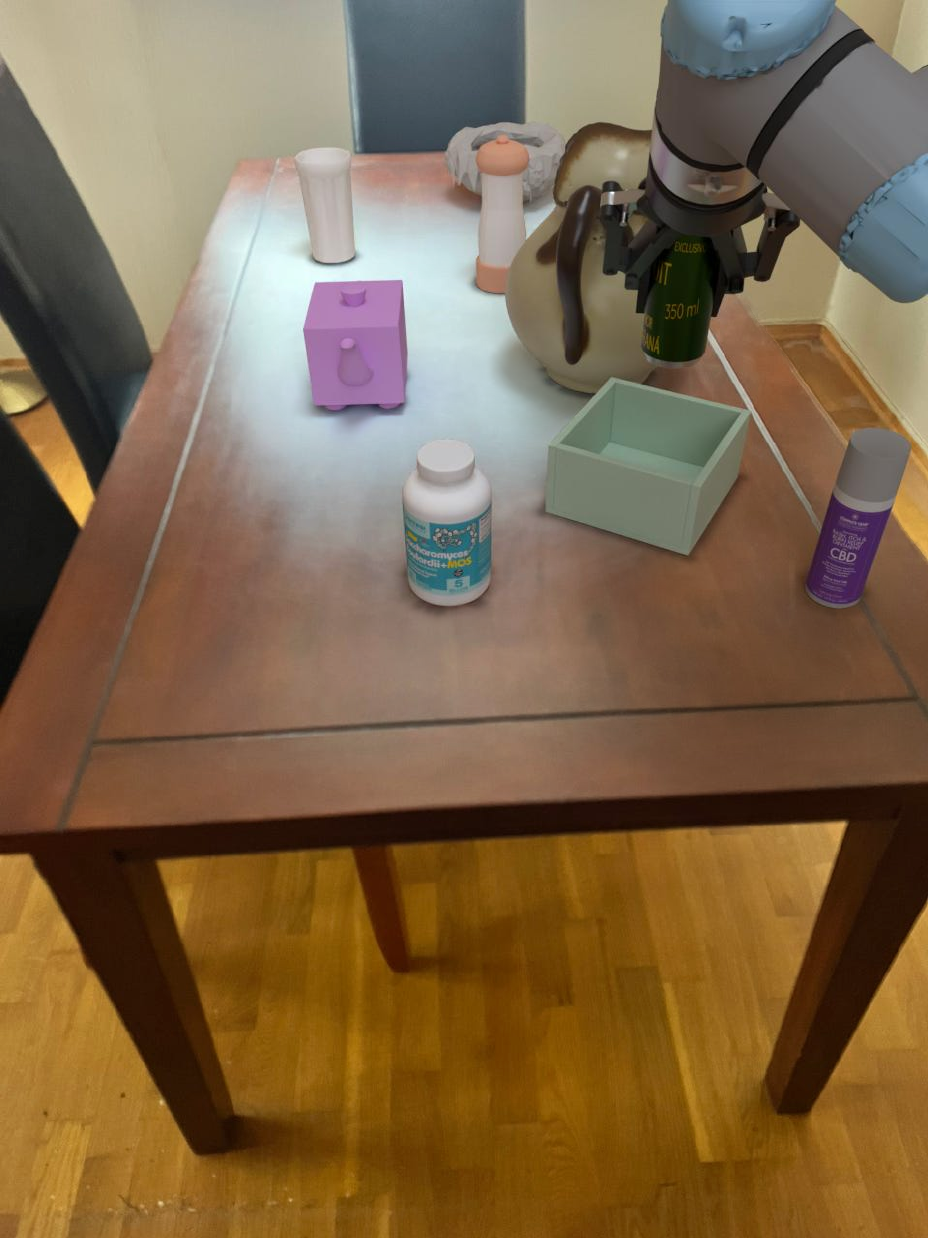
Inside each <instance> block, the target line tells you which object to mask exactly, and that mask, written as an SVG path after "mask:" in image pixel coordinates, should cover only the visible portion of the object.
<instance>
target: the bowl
mask: <svg viewBox="0 0 928 1238" xmlns="http://www.w3.org/2000/svg"><path fill="white" fill-rule="evenodd" d="M500 135H506V136H507V137H508V138H509V140H514V141H516V142H519V143H521V144H523V145H524V146H525V147H526V149H527V151H528V153H529V158H530V161H529V164H528V166H527V168H526V169H525V170H524V171H523V203H525V202H528V201H529V203H532V202H533V199H537V198H539V197H542V196H543V195H544V194H545V193H546V192H547V191H548V190H550V189H551V188H552V187H554V184H555V178H556V172H557V169H558V168H559V164H560V162H559V160H560V158H561V157H562V156H563V154H564V153H565V146H566V143H567V142H566V139H565V136H564V134H562V133H561V132H559V131H558V130H557V129H556V128H555V127H554V126H553V125H552V124H550V122H546V123H539V122H536V121H529V122H526V123H523V124H521V123H515V122H508V121H507V122H506V121H505V122H504V121H503V122H497V123H495V124H490V123H489V124H488V125H482V126H478V127H476V128H475V127H471V126H470V127H469V126H465V127H463V128H462V129H460V130H459V131H458V132H456V133H455V134H454V136H452V138H451V140H449V141H448V144H447V149H446V151H445V152H444V159H445V163H446V164H445V165H446V168H447V172H448V173H449V177H450V178H452V179H451V181H452V188H453V189H455V178H456V179H457V185H458V186H460V185H461V184H462V185H463V186H464V187H465V188H466V189H467V190H468V191H470V192H472V193H473V194H475V195H477V196H480V197H481V198H482V172H481V171H480V170H479V169H478V167H477V164H476V154H477V152H478V150H479V148H480V147H481V146H482V145H484V144H486V143H488V142H490V141H493V140H496V139H497V137H498V136H500ZM455 176H456V177H455Z"/></svg>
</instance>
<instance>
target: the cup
mask: <svg viewBox="0 0 928 1238" xmlns="http://www.w3.org/2000/svg"><path fill="white" fill-rule="evenodd" d="M293 162H294V166H295V170H296V171H297V175H298V180H299V185H300V190H301V197H302V202H303V205H304V206H303V208H304V212H305V218H306V223H307V224H306V225H307V229H308V234H309V240H310V246H311V250H312V256H313V258H314V260H316V261H318V262H320V263H326V264H336V263H337V264H338V263H342V262H343V263H344V262H347V261H349V260H352V259H353V258H354V257H355V255H356V248H355V231H354V230H355V229H354V228H355V227H354V209H353V191H352V175H351V167H352V153H351V152H350V151H348V150H347V149H344V148H341V147H333V146H331V147H329V146H328V147H327V146H324V147H314V148H307V149H305V150H302V151H299V152H298V153H297V154H295V156H294V159H293Z"/></svg>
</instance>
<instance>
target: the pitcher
mask: <svg viewBox="0 0 928 1238" xmlns="http://www.w3.org/2000/svg"><path fill="white" fill-rule="evenodd" d="M651 135H652V129H634V128H630V127H626V126H623V125H619V124H616V123H612V122H603V121H597V122H594V123H589V124H586V125H584V126H582V127H580V128H579V129H578V130H577V131H576V132H574V133H573V134H572V135H571V137H570V138H569V139H568V140H567V142H565V143H566V146H565V153H564V154H563V156H562V157H561V158H560V160H559V162H560V164H559V168H558V169H557V172H556V178H555V184H554V185H553V189H552V198H553V202H554V205H555V206H554V208H553V209H552V211H551V212H550V213H549V214H548V215H547V217H546V218H545V219H544V220H543V221H542V222H541V223H540V224H539V225H538V226H537V227H536V228H535V229H534V230H533V232H531V233H530V234H529V236H528V237H526V241H525V242H524V243H523V245H522V246H521V247H520V249H519V250H518V252H517V254H516V255H515V257H514V259H513V261H512V263H511V265H510V268H509V270H508V273H507V277H506V283H505V293H504V298H505V299H504V300H505V306H506V307H505V308H506V310H507V311H506V312H507V316H508V319H509V322H510V323H511V327H512V328H513V331H514V332H515V334H516V336H517V338H518V339H519V341H520V342H521V344H522V345H523V346H524V348H525V349H526V350H527V351H528V352H529V353H530V355H532V357H533V358H535V360H537V361H538V362H539V363H540V364H541V365H543V366H544V367H545V371H546V373H547V375H548V376H549V378H550V379H551V380H552V381H553V382H555V383H556V384H558V385H560V386H562V387H564V388H566V389H569V390H571V391H576V392H579V393H585V394H593V395H595V394H596V393H597V392H598V391H599V390H600V389H601V388H602V387H603V386H604V385H605V383H606V382H607V381H608V380H609V379H610V378H611V377H613V378H617V379H621V380H625V381H629V382H633V383H637V384H642V385H643V383H644V382H646V380H648V378H649V376H650V374H651V372H653V371H655V370H656V369H658V368H659V366H656V365H654V364H651V363H650V362H649V361H647V360H646V359H645V357H644V354H643V351H642V348H641V343H642V334H643V326H644V317H645V313H644V314H640V313H636V303H637V293H638V290H626V289H625V288H624V285H625V274H624V273H623V272H620V271H618V273H617V274H616V275H611V276H607V275H605V274H603V272H602V270H603V260H604V250H605V240H606V230H605V228H604V227H603V225H602V224H601V222H600V221H599V213H600V203H601V193H602V184H603V183H604V182H606V181H616V182H618V183H619V184H620V186H621V188H622V189H623V190H624V189H629V190H632V189H638V186H639V184H640V182H641V181H642V180H643V179H644V178H645V177H646V176H647V169H648V160H649V152H650V146H651ZM647 220H648V218H646V217H645V216H644V215H642V214H641V213H640V212H639V211H638V209H637V210H634V211H633V215H632V216H631V217H629V218H628V224H627V225H626V226H624V232H623V240H622V247H626V248H628V243H629V236H631V238H632V237H635V236H636V235H637V233H638V232H639V230H640V229H641V228H642V226H643V225H644V224H645V222H646V221H647ZM645 308H646V306H645Z"/></svg>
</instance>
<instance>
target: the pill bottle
mask: <svg viewBox="0 0 928 1238" xmlns="http://www.w3.org/2000/svg"><path fill="white" fill-rule="evenodd" d="M401 490H402V491H401V499H402V501H401V502H402V513H403V514H402V515H403V527H404V541H405V542H404V543H405V554H406V556H405V557H406V571H407V572H406V573H407V581H408V585H409V587H410V589H411V591H412V592H413V593H414V595H416V596H417V597H418V598H419V599H421V600H423V601H424V602H427V603H429V604H431V605H436V606H443V607H456V606H462V605H465V604H468V603H471V602H473V601H475V600H477V599H479V597H481V596H482V595H483V594H484V593H485V592H486V591H487V589H488V588H489V585H490V583H491V578H492V511H493V509H492V508H493V506H492V505H493V501H492V500H493V499H492V497H493V493H492V492H493V491H492V484H491V482H490V480H489V477H488V476H487V475H486V474H485V472H484V471H483V470H482V469H480V468H479V467H478V466H477V465H476V454H475V451H474V449H473V448H472V447H471V445H469V444H468V443H467V442H464V441H461V440H458V439H452V438H441V439H435V440H431V441H429V442H427V443H425V444H423V445H422V446H420V448H419V449H418V450H417V453H416V468H414V469H413V470H412V471H411V472H410V473H409V474H408V476H407V477H406V478H405V480H404V482H403V485H402V489H401Z"/></svg>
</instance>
